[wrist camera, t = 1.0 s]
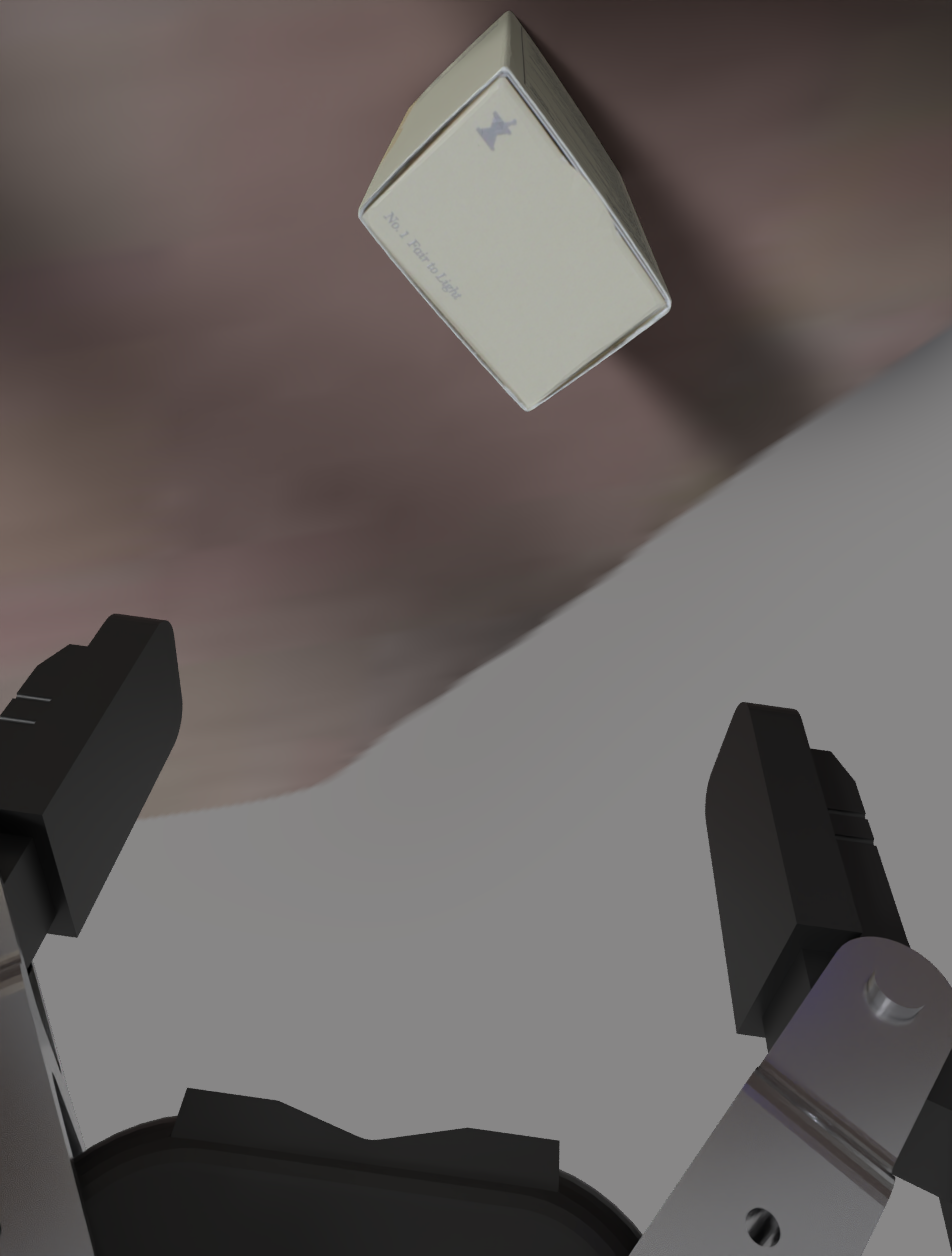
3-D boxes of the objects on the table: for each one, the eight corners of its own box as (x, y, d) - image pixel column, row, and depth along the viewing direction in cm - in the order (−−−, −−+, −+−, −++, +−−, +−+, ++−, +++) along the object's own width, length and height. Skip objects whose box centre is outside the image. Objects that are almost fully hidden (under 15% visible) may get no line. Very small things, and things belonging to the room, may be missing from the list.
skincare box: (404, 109, 29) (337, 208, 19) (514, 0, 27) (501, 49, 17) (527, 268, 31) (521, 424, 22) (634, 180, 30) (679, 308, 20)
